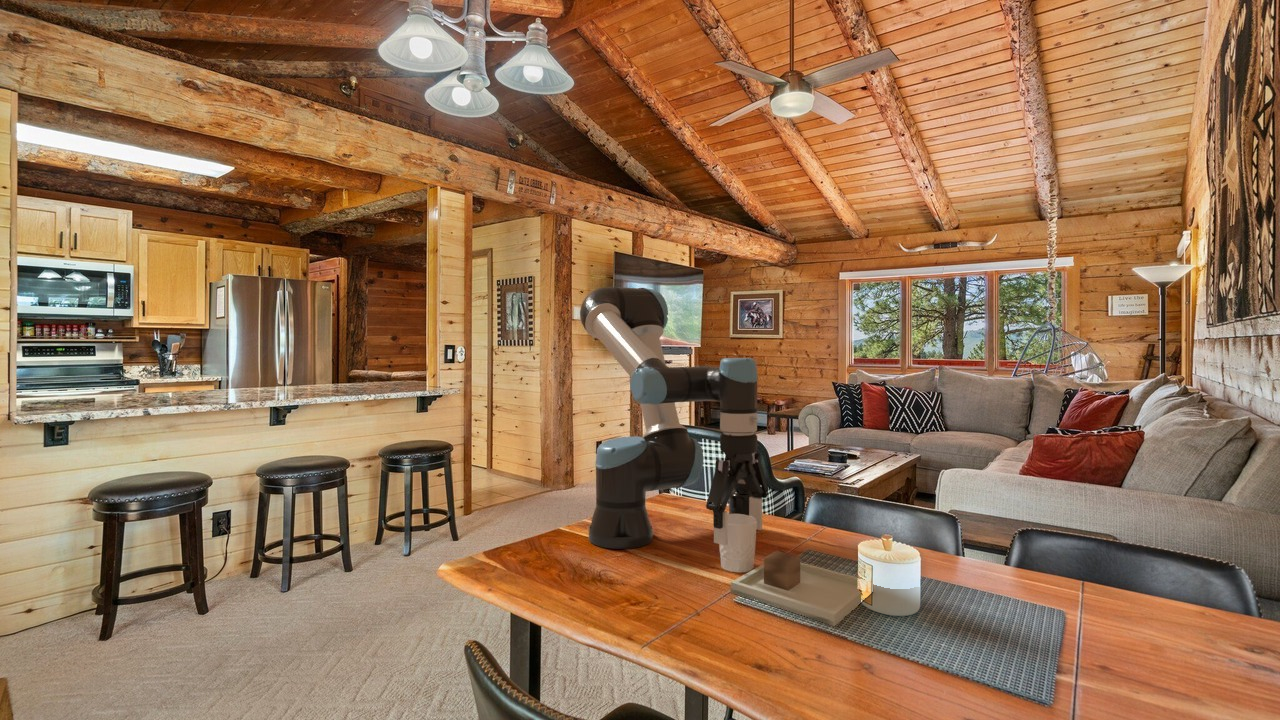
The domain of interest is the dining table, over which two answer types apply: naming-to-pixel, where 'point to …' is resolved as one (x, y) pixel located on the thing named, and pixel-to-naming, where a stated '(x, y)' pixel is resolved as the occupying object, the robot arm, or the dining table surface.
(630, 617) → the dining table surface
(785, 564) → the walnut block
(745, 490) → the supplement bottle
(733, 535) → the white cup
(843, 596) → the tray
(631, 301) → the robot arm
